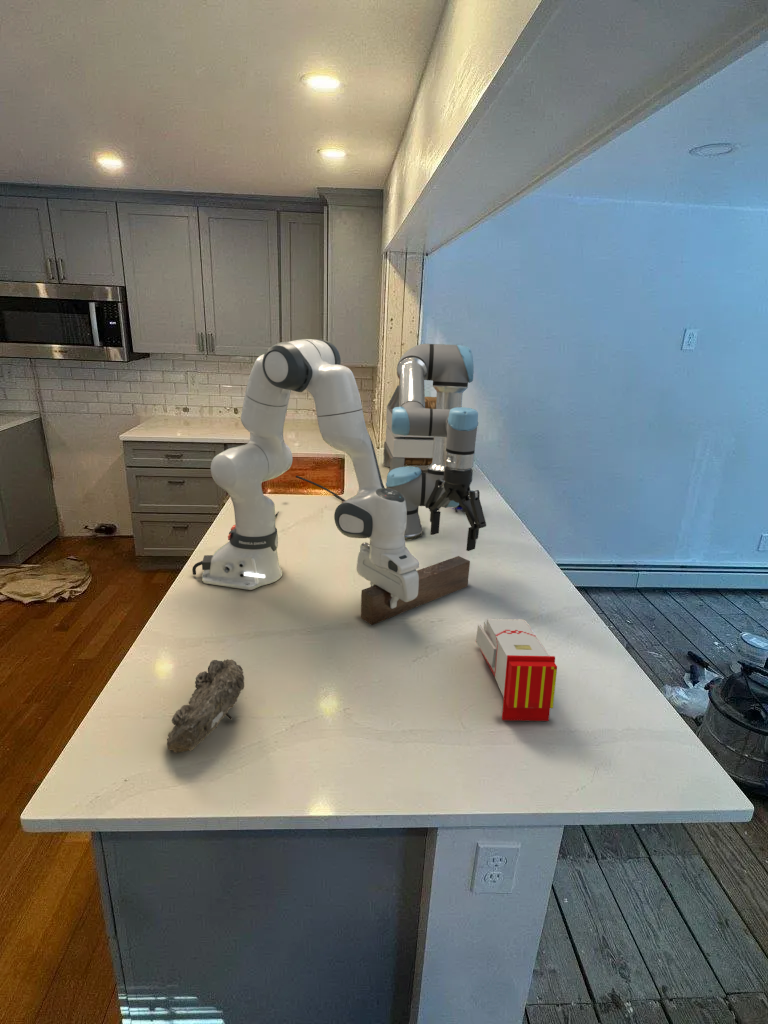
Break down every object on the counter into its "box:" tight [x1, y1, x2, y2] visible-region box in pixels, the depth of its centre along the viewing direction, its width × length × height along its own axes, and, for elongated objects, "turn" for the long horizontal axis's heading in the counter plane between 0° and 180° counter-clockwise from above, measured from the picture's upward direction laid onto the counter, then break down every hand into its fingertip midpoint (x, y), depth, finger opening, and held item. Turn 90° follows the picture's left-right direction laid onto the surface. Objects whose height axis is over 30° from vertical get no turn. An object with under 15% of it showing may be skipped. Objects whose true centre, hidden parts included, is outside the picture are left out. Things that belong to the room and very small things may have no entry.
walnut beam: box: [360, 555, 471, 626], centre depth 153 cm, size 4×36×8 cm, turn 131°
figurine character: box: [452, 500, 466, 513], centre depth 227 cm, size 7×8×15 cm
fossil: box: [166, 658, 245, 754], centre depth 106 cm, size 22×10×15 cm
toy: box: [475, 618, 558, 722], centre depth 122 cm, size 12×13×30 cm
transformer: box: [383, 384, 437, 472], centre depth 268 cm, size 34×33×41 cm
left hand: (384, 602), depth 146 cm, fingers closed on walnut beam, 4 cm apart
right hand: (452, 541), depth 157 cm, fingers open, 13 cm apart
